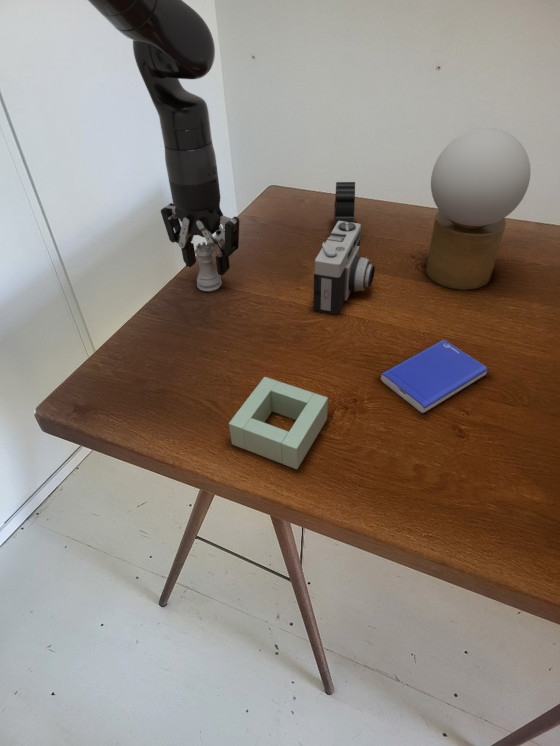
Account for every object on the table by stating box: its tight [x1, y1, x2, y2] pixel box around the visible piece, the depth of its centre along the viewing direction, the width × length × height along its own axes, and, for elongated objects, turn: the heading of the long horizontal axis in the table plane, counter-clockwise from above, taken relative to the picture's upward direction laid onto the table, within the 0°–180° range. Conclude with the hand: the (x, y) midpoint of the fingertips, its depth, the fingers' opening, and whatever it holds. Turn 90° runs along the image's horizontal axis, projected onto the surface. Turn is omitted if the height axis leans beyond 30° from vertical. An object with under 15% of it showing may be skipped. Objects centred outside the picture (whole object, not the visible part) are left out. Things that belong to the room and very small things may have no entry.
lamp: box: [425, 127, 531, 291], centre depth 83 cm, size 15×14×25 cm
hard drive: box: [380, 339, 488, 414], centre depth 73 cm, size 2×8×12 cm
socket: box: [228, 376, 329, 470], centre depth 66 cm, size 9×9×4 cm
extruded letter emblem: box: [333, 181, 356, 228], centre depth 100 cm, size 18×4×11 cm, turn 176°
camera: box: [312, 221, 376, 315], centre depth 86 cm, size 14×8×10 cm, turn 160°
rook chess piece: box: [194, 241, 223, 293], centre depth 90 cm, size 4×4×8 cm
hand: (207, 268), depth 90 cm, fingers open, 6 cm apart
